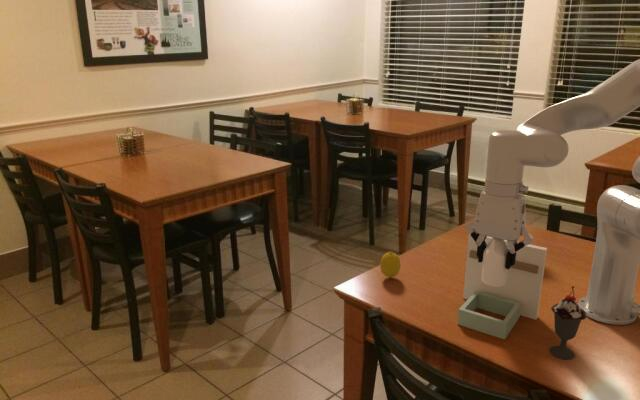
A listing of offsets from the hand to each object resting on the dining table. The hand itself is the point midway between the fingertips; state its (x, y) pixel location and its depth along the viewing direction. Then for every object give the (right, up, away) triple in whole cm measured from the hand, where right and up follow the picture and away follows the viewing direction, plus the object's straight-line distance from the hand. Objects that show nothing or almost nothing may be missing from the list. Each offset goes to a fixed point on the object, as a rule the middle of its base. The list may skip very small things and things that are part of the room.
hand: (495, 262), depth 119 cm
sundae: (+12, -19, -7) cm, 23 cm away
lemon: (-20, -8, +27) cm, 34 cm away
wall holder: (+1, -14, +6) cm, 15 cm away
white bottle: (0, -5, +2) cm, 5 cm away
